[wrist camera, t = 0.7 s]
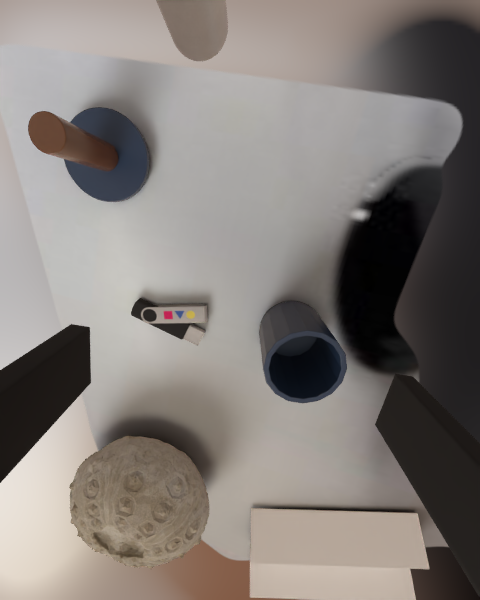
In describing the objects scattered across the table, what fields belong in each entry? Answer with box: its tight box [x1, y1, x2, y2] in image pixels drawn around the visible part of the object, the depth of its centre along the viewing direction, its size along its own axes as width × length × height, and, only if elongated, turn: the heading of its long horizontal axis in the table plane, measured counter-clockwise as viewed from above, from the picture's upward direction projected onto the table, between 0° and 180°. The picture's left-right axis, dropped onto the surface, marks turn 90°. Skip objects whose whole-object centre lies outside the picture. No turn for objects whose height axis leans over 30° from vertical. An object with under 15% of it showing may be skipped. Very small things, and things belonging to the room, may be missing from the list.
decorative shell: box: [70, 436, 209, 569], centre depth 34 cm, size 18×18×10 cm
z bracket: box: [250, 508, 429, 600], centre depth 41 cm, size 12×25×6 cm
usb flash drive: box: [131, 298, 208, 345], centre depth 31 cm, size 9×5×1 cm, turn 62°
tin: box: [259, 301, 347, 403], centre depth 28 cm, size 7×7×8 cm
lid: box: [28, 107, 149, 202], centre depth 23 cm, size 8×8×9 cm
